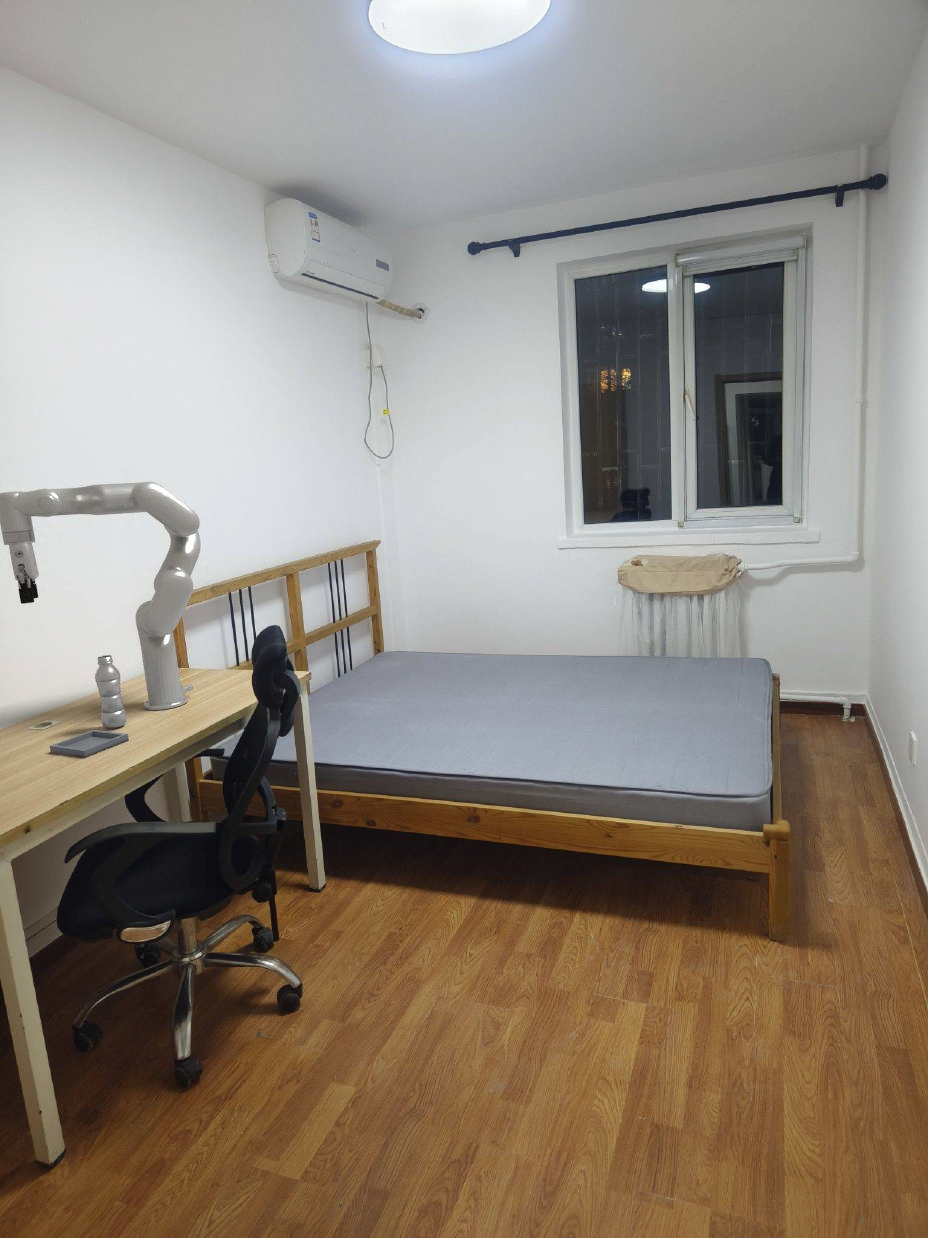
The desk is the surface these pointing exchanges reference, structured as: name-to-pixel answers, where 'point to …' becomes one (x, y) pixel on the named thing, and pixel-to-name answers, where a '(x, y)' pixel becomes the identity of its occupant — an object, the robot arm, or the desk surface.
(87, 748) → the charcoal tray
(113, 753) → the desk surface
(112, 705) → the plastic bottle
